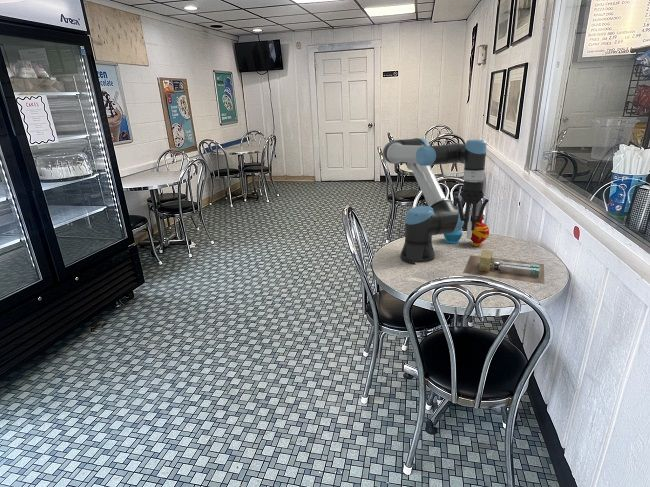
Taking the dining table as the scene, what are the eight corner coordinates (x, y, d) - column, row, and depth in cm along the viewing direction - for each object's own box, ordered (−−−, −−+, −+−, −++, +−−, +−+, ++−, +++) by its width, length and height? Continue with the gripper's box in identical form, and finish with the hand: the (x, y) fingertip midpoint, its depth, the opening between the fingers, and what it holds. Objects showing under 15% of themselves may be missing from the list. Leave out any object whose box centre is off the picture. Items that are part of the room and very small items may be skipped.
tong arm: (491, 269, 160) (492, 263, 159) (491, 265, 164) (492, 259, 163) (538, 274, 153) (539, 267, 152) (537, 270, 157) (538, 264, 156)
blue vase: (462, 244, 194) (465, 215, 189) (443, 244, 196) (445, 214, 191) (460, 238, 202) (462, 210, 197) (442, 238, 204) (443, 210, 199)
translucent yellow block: (478, 270, 160) (480, 257, 158) (481, 262, 167) (482, 249, 165) (489, 272, 158) (490, 258, 156) (491, 264, 165) (492, 250, 164)
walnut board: (462, 275, 159) (463, 272, 159) (470, 257, 177) (470, 255, 176) (544, 286, 146) (544, 283, 146) (543, 266, 164) (543, 264, 163)
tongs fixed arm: (476, 268, 162) (477, 262, 161) (477, 265, 165) (478, 259, 164) (538, 276, 152) (539, 270, 151) (538, 273, 155) (539, 267, 154)
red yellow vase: (461, 242, 196) (463, 213, 191) (479, 240, 199) (481, 211, 194) (475, 249, 187) (477, 218, 182) (493, 246, 189) (496, 216, 185)
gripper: (454, 181, 154) (450, 238, 161) (490, 182, 148) (484, 242, 156) (457, 178, 160) (454, 233, 168) (492, 179, 154) (486, 236, 162)
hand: (468, 237), depth 162 cm, fingers closed
